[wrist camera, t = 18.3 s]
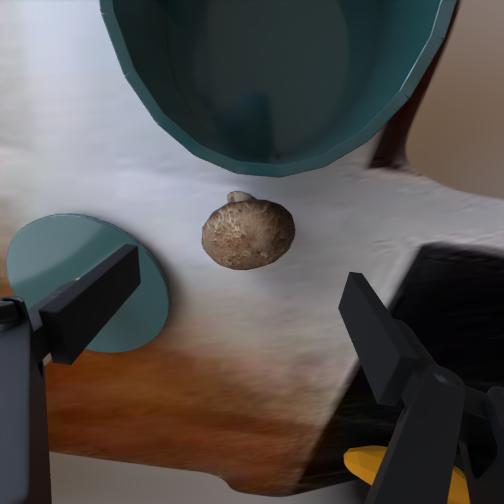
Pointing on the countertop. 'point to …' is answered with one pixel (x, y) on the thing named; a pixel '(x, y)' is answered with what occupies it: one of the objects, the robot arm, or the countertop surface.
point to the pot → (274, 73)
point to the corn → (370, 457)
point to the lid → (81, 262)
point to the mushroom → (247, 232)
